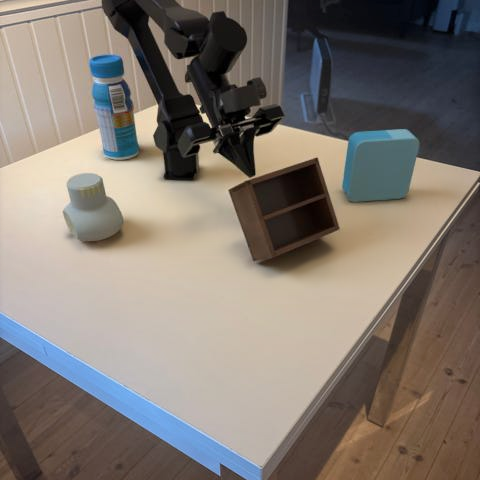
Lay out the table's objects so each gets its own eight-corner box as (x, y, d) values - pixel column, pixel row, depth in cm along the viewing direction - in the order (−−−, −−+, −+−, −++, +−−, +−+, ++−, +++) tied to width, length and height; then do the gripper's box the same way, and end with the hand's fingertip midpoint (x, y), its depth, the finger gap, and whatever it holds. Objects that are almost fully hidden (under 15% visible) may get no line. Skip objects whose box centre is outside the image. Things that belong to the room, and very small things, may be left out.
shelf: (253, 261, 79) (227, 189, 77) (318, 234, 85) (296, 167, 83) (272, 258, 74) (245, 180, 71) (340, 229, 80) (317, 157, 77)
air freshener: (130, 239, 85) (120, 185, 79) (84, 254, 82) (70, 199, 75) (107, 213, 92) (96, 162, 85) (64, 226, 89) (49, 174, 82)
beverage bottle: (98, 160, 110) (77, 63, 97) (110, 145, 116) (93, 52, 103) (134, 162, 109) (118, 64, 96) (144, 147, 115) (131, 53, 102)
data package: (398, 188, 98) (412, 128, 90) (407, 198, 95) (421, 137, 87) (340, 192, 97) (349, 131, 89) (347, 203, 94) (356, 141, 86)
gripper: (179, 71, 70) (224, 170, 71) (280, 51, 78) (320, 140, 79) (160, 112, 81) (199, 199, 81) (251, 91, 88) (287, 170, 89)
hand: (252, 176), depth 82 cm, fingers closed
